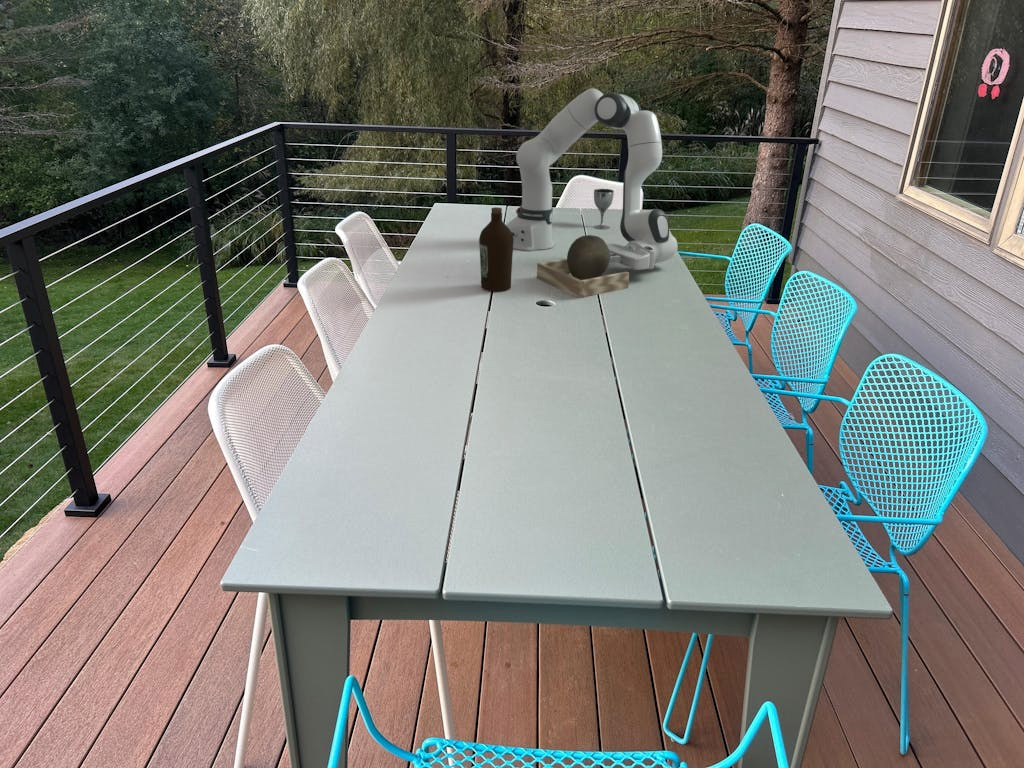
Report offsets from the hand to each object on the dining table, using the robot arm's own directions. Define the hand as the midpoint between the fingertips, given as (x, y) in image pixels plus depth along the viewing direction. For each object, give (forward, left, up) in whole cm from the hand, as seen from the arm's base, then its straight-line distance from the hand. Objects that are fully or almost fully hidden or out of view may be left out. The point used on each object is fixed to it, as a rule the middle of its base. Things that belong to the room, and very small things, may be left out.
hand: (605, 259), depth 250 cm
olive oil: (-29, -23, -7) cm, 38 cm away
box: (-5, -7, -6) cm, 11 cm away
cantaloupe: (-4, -5, -7) cm, 9 cm away
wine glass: (-20, +68, -7) cm, 71 cm away
